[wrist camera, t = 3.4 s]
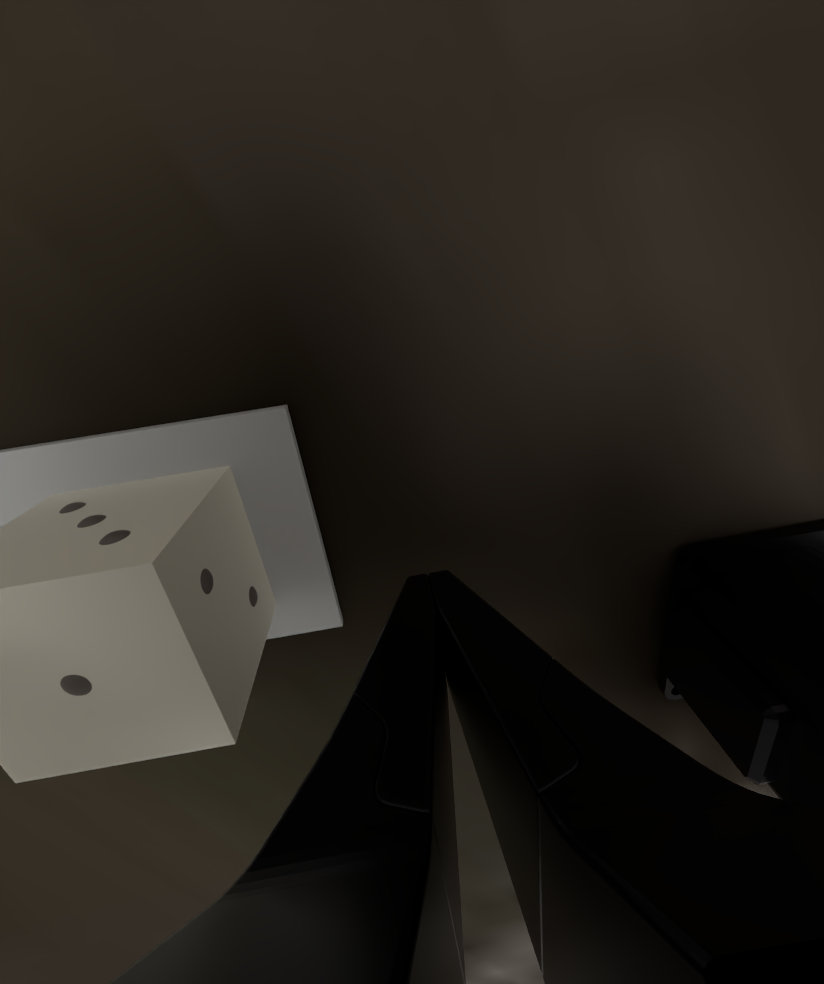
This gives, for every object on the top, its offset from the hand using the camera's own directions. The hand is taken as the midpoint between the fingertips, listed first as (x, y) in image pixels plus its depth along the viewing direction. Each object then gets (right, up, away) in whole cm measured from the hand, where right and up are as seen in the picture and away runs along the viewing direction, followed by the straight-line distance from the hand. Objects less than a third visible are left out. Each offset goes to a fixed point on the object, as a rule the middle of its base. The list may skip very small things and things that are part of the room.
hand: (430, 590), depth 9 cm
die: (-7, 0, +3) cm, 8 cm away
